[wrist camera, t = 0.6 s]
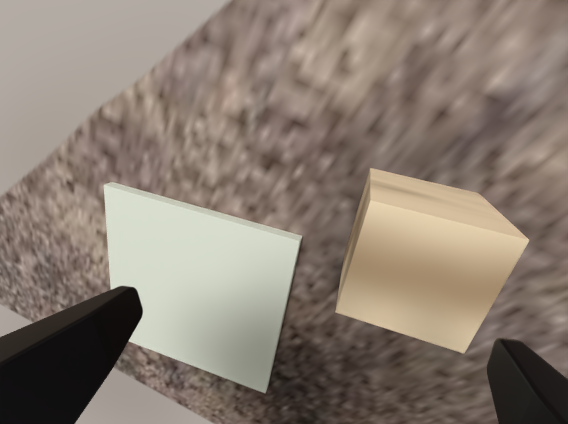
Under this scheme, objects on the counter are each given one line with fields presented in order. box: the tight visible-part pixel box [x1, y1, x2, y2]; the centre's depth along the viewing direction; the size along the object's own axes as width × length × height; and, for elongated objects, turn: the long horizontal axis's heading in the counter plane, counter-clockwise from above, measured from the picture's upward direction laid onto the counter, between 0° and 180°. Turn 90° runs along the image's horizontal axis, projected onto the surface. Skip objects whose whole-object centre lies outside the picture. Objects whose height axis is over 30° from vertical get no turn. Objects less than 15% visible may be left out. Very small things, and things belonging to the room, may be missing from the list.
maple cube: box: [335, 168, 529, 353], centre depth 16 cm, size 6×6×6 cm
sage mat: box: [104, 182, 302, 393], centre depth 24 cm, size 15×15×1 cm
